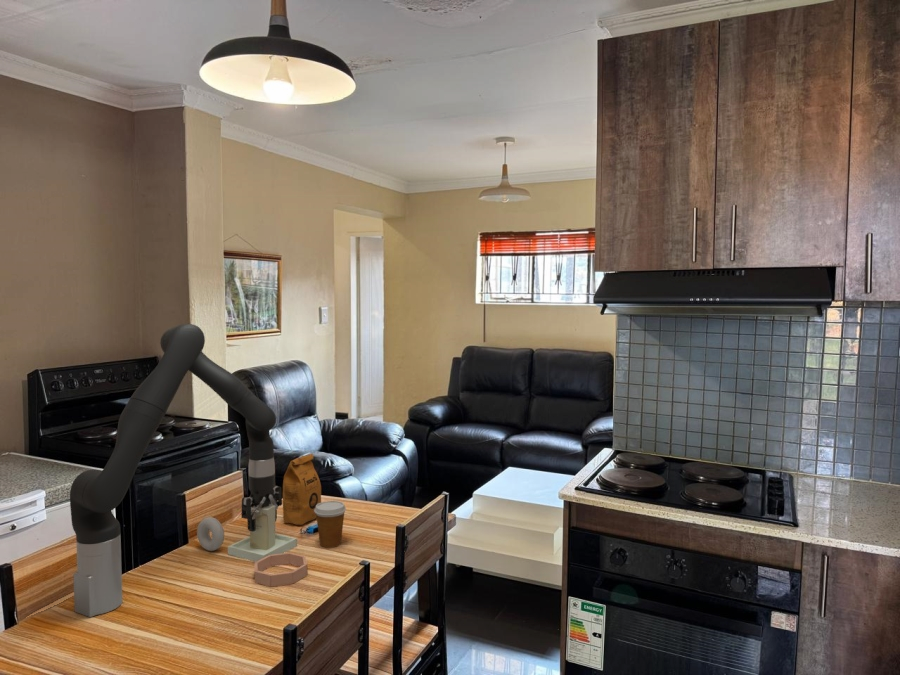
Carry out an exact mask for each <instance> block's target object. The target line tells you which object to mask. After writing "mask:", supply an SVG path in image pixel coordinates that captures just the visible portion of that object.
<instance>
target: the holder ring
mask: <svg viewBox="0 0 900 675" xmlns="http://www.w3.org/2000/svg"><path fill="white" fill-rule="evenodd" d="M283 564H285V565H291V564H292V565H291V566H295V565H296V566H295V567H297V568H295V569H293V570H292V571H287V572H286V571H285V572H279V573H269V572H265V570H267V569H268V567H269V568H271V567H276V566H275V565H278V566H284V565H283ZM253 565H254V566H253V567H254V583H256V584H258V583H259V585H263V586H266V587H270V588H273V587H280V586H287V585H293V584H295V583H297V582H298V581H300V580H301V579H304V578H305V577H307V576H308V562H307V558H306V556H305V555H302V554H298V553H293V552H290V551H288V552H285V553H281V554H273V555H268V556H266V557H264V558H262V559H261V560H259V561H257V562H255V561H254V564H253ZM299 566H300V567H299ZM266 568H267V569H266Z"/></svg>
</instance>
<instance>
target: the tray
mask: <svg viewBox="0 0 900 675" xmlns="http://www.w3.org/2000/svg"><path fill="white" fill-rule="evenodd" d="M296 547H298V538H297V537H292V536H289V535H285V534H279V533H276V532H275V545H274V546H273V547H271V548H269V549H268V550H263V549H258V548H252V547H250V535H249V536H248V537H245V538H243V539H241V540H239V541H237V542H235V543H232V544H230V545H228V546H227V555H229V556H232V557H236V558H240V559H244V560H247V559H248V561H252V562H254V563H255V562H257V561H259V560H261V559H262V558H264V557H266V556H268V555H273V554H281V553H284V552H285V553H287V552H289V551H290V550H292V549H294V548H296ZM288 550H289V551H288ZM286 551H287V552H286Z"/></svg>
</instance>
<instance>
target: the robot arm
mask: <svg viewBox="0 0 900 675" xmlns="http://www.w3.org/2000/svg"><path fill="white" fill-rule="evenodd" d="M205 338H206V337H205V334H204V332H203V330H202V329H201V327H199V326H198V325H196V324H192V323H183V324H179V325H177V326H174V327H171V328H169V329H167V330H165V331H164V333H163V334H162V336H161V338H160V342H159V344H160V347H161V350H162V351H163V354H162V357H161V359H160V361H159V362H158V364H157V365H156V367H155V368H154V369H153V371H151V372H150V374H149V375H148V376H147V377H146V378H145V379H144V380H143V381H142V382H141V384H139V385H138V387H137V388H136V389H135V391H134V392H133V393H132V395H131V397H130V398H129V399H128V401H127V403H126V405H125V406H124V408H123V410H122V412H121V414H120V415H119V419H118V424H117V431H116V439H115V446H114V448H113V450H112V454H111V456H110V457H109V459H108V461H107V463H106V464H105V466H104V468H102V470H99V469H88V470H85V471H82V472H81V473H79V474H78V475H77V476H76V477H75V478H74V480H73V482H72V483H71V486H70V490H69V492H70V493H69V507H70V517H71V527H72V530H73V532H74V533H75V538H76V568H77V570H76V571H75V572H73V597H74V598H73V600H74V602H73V603H74V605H73V606H74V612H75V613H78V614H80V615H83V616H86V617H88V618H92V617H94V616H97V615H103V614H105V613H109V612H111V611H114V610H115V609H117V608H120V606H121V605H122V603H123V579H122V577H123V576H122V572H123V571H122V570H123V569H122V542H121V539H122V538H121V537H122V536H121V523H120V521H119V520H118V519H117V518H116V517H115V516H114V514H113V512H112V511H113V510H115V509H116V508H117V507H118V506H119V505H120V504H121V502H122V501H123V500H124V498H125V496H126V494H127V492H128V491H129V488H130V486H131V483H132V480H133V478H134V476H135V473H136V471H137V469H138V466H139V464H140V462H141V459H142V457H143V456H144V454H145V452H146V450H147V448H148V446H149V444H150V442H151V441H152V438H153V436H154V435H155V433H156V432H157V430H158V428H159V427H160V425H161V422H162V421H163V419H164V417H165V415H166V414H167V411H168V409H169V407H170V405H171V403H172V401H173V400H174V397H175V396H176V394H177V391H178V390H179V388H180V385H181V383H182V382H183V380H184V378H185V376H186V375H187V374H188V372H190V373H192V374H193V375H194V376H196V377H197V378H198V379H199V380H201V381H202V382H203V383H204V384H205V385H207V386H208V387H209V388H210V389H211V390H212V391H213V392H214V393H215V394H216V395H217V396H219V397H220V398H221V399H222V400H223V401H224V402H225V403H226V404H227V406H228V405H229V407H230V408H232V409H233V411H234V410H235V411H236V412H238V413H239V414H240V415H241V416H243V418H245V428H246V434H247V439H248V444H249V445H248V458H249V459H248V471H247V472H248V490H249V491H250V495H249V497H245V496H243V497H242V498H241V516H240V517H241V519H246V520H247V521H246V522H247V524H246V525H247V530H248V531H249V532H250V531H252V532H254V531H255V530H256V519H255V517H256V515H257V513H258V512H259V511H260V509H261V508H263V507H264V506H268V505H274V506H276V508H275V523H276V522H277V519H278V511H277V510H278V508H279V507H281V506H283V491H282V487H281V486H278V485H276V466H275V465H276V463H275V457H274V456H275V454H274V452H275V451H274V450H275V449H274V446H275V445H274V440H273V438H272V437H271V434H270V430H272V429H273V428H275V425H276V423H277V416H276V413H275V411H274V410H273V409H272V408H271V407H270V406H268V405H267V404H266V403H265V402H264V401H263V400H261V399H260V398H259V397H257V396H256V395H255V394H254V393H253V391H251V389H250V388H248V386H246V385H245V384H244V383H243V381H241V380H240V379H239V378H238V377H237V376H236V375H234V374H233V373H232V372H230V371H229V370H227V369H225V368H223V367H222V366H220V365H218V364H217V363H216V362H215V361H213V360H212V359H210V358H209V357H208V356H207V355H206V354H205V353H204V352H203V350H204V347H205V342H206V341H205V340H206V339H205ZM253 506H255V507H256V508H253ZM253 511H254V512H253ZM252 512H253V514H252ZM251 514H252V515H251Z"/></svg>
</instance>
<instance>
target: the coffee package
mask: <svg viewBox="0 0 900 675" xmlns="http://www.w3.org/2000/svg"><path fill="white" fill-rule="evenodd" d="M312 460H314V455H313V453H309V454H307V455H303V456H301V457H297V458H295V459H293V460H291V461H290V462H289V464H288V466H287V469H286V471H285V473H284V475H283V482H282V518H283V524H294V525H304V524H306V523H308V522H310V521H313V520H315V519H317V518H316V514H315V512H314V510H315V508H316V505H317V504H319V503H321V502H322V484H321V479H320V478H319V475H318V472H317V471H316V469H315V467H314V463H313V462H312Z"/></svg>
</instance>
